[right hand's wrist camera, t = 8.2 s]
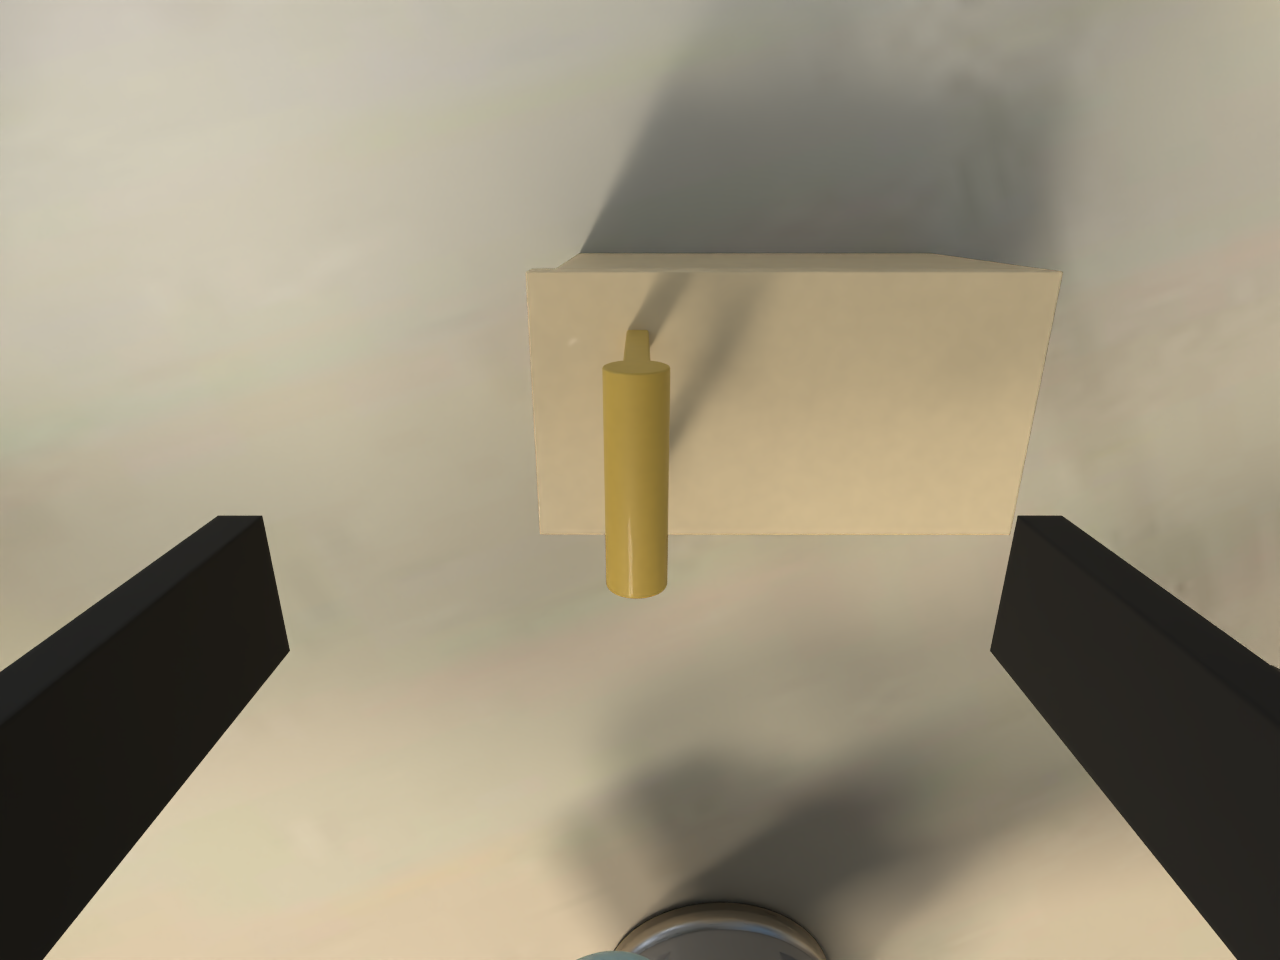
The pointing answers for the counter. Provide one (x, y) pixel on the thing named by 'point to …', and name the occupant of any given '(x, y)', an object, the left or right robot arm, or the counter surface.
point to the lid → (781, 403)
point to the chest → (778, 261)
